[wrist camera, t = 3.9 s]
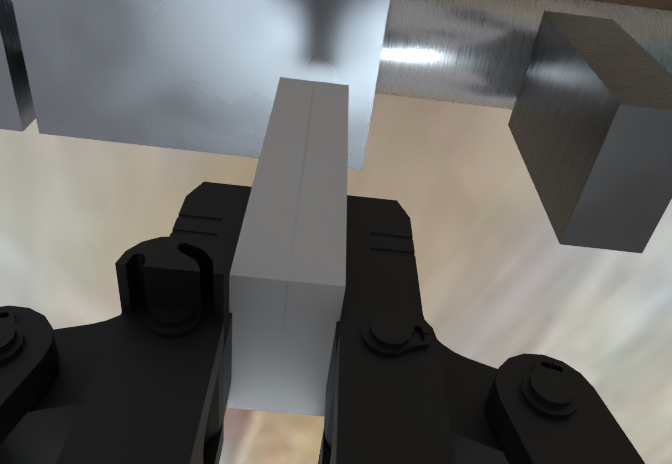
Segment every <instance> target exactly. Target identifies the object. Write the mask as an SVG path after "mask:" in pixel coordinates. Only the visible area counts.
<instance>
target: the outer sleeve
mask: <svg viewBox="0 0 672 464" xmlns="http://www.w3.org/2000/svg"><path fill="white" fill-rule="evenodd" d="M389 2H390V0H0V129H6V130H15V131H24V130H25V129H26V128H27V127H28V126H29V125H30V124H31V123H32V121H33V120H34V119H35V118H36V119H37V124H38V129H39V133H41V134H50V135H59V136H68V137H76V138H85V139H94V140H103V141H112V142H120V143H129V144H138V145H147V146H156V147H164V148H173V149H182V150H191V151H199V152H208V153H217V154H226V155H235V156H243V157H252V158H260V154H261V150H262V146H263V142H264V138H265V134H266V130H267V126H268V122H269V118H270V115H271V111H272V107H273V103H274V99H275V95H276V91H277V87H278V83H279V79H280V77H283V78H292V79H300V80H309V81H318V82H326V83H335V84H343V85H349V104H348V165H347V168H349V169H358V170H362V168H363V162H364V156H365V150H366V144H367V138H368V131H369V125H370V119H371V113H372V107H373V100H374V94H375V88H376V82H377V76H378V70H379V63H380V57H381V51H382V45H383V39H384V32H385V26H386V20H387V14H388V8H389Z"/></svg>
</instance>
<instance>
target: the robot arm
mask: <svg viewBox="0 0 672 464" xmlns="http://www.w3.org/2000/svg"><path fill="white" fill-rule="evenodd" d="M348 104H349V85H343V84H335V83H326V82H318V81H309V80H300V79H292V78H283V77H280V79H279V83H278V87H277V91H276V95H275V99H274V103H273V107H272V111H271V115H270V118H269V122H268V126H267V130H266V134H265V138H264V142H263V146H262V150H261V154H260V158H259V161H258V165H257V169H256V173H255V177H254V181H253V185H252V187H248V186H239V185H229V184H220V183H211V182H203V183H202V184H201V185H199V186H198V187H197V188H196V189H194V190H193V191H192V192H191V193H190V194H188V195H187V196H186V198H185V200H184V203H183V205H182V208H181V210H180V212H179V217H178V218H177V220H176V222H175V225H174V227H173V231H172V233H171V234H170V237H159V238H155V239H151V240H147V241H143V242H141V243H139V244H137V245H136V246H134V247H132V248H130V249H129V250H127V251H125V253H124V254H123V255H122V256H121V257H120V258H119V260H118V261H117V262H116V263H115V265H116V272H117V279H118V287H119V294H120V301H121V308H122V313H121V315H119V316H117V317H114V318H112V319H109V320H107V321H103V322H99V323H94V324H90V325H83V326H76V327H69V328H62V329H55V330H53V328H52V326H51V325H50V323H49V322H48V320H47V319H46V317H45V316H44V315H42V314H40V313H38V312H36V311H34V310H32V309H30V308H24V307H16V306H3V307H0V464H219V461H220V456H221V451H222V445H223V420H224V415H225V410H226V405H227V400H228V408H236V409H247V410H258V411H269V412H281V413H292V414H303V415H314V416H324V415H325V420H324V431H323V437H322V443H321V449H320V455H319V461H318V464H645V463H644V461H643V460H642V458H641V457H640V455H639V454H638V452H637V451H636V449H635V448H634V446H633V445H632V443H631V442H630V440H629V439H628V437H627V436H626V435H625V433H624V432H623V430H622V429H621V427H620V426H619V424H618V423H617V421H616V420H615V418H614V417H613V415H612V414H611V412H610V411H609V409H608V408H607V406H606V405H605V403H604V402H603V400H602V399H601V398H600V396H599V395H598V393H597V392H596V390H595V389H594V387H593V386H592V385H591V384H590V383H589V382H588V381H587V380H586V379H585V378H584V377H583V375H582V374H581V373H579V372H578V371H576V370H575V369H573V368H572V367H570V366H569V365H567V364H565V363H564V362H562V361H559V360H556V359H554V358H551V357H548V356H545V355H538V354H521V355H518V356H514V357H511V358H509V359H507V360H506V361H505V362H504V363H503V364H502V365H501V366H500V367H499V369H496V368H493V367H490V366H487V365H485V364H482V363H479V362H476V361H473V360H471V359H468V358H466V357H464V356H461V355H459V354H457V353H455V352H453V351H452V350H450V349H449V348H447V347H446V346H444V345H443V344H441V343H440V342H439V341H438V340H437V338H436V336H435V333H434V331H433V328H432V327H431V326H430V325H429V324H428V323H427V322H426V321H425V320H424V316H423V312H422V305H421V297H420V289H419V282H418V274H417V267H416V259H415V256H414V253H415V251H414V244H413V240H412V237H413V236H412V229H411V221H410V217H409V216H408V215H407V213H406V212H405V211H404V209H403V208H402V207H401V205H400V204H399V203H398V202H397V201H395V200H386V199H377V198H368V197H358V196H349V195H347V165H348Z"/></svg>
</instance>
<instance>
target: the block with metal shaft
mask: <svg viewBox="0 0 672 464" xmlns="http://www.w3.org/2000/svg"><path fill="white" fill-rule="evenodd" d="M375 93H378V94H387V95H395V96H404V97H412V98H420V99H429V100H437V101H446V102H454V103H462V104H471V105H479V106H487V107H496V108H504V109H513V111H512V114H511V117H510V120H509V124H508V126H509V128H510V130H511V132H512V135H513V137H514V139H515V142H516V144H517V146H518V149H519V151H520V153H521V156H522V158H523V160H524V162H525V165H526V167H527V169H528V172H529V174H530V176H531V179H532V181H533V183H534V185H535V188H536V190H537V192H538V195H539V197H540V199H541V202H542V204H543V206H544V208H545V211H546V213H547V215H548V218H549V220H550V222H551V225H552V227H553V229H554V232H555V234H556V236H557V238H558V241H559V243H560V244H563V245H572V246H581V247H590V248H600V249H609V250H618V251H627V252H636V253H642V252H643V250H644V249H645V247H646V245H647V243H648V241H649V239H650V237H651V236H652V234H653V232H654V230H655V228H656V226H657V224H658V223H659V221H660V219H661V217H662V215H663V213H664V212H665V210H666V208H667V206H668V204H669V202H670V200H671V199H672V11H668V10H661V9H653V8H645V7H637V6H629V5H622V4H614V3H606V2H598V1H590V0H390V2H389V8H388V14H387V20H386V26H385V32H384V39H383V45H382V51H381V57H380V63H379V70H378V76H377V82H376V88H375Z"/></svg>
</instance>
